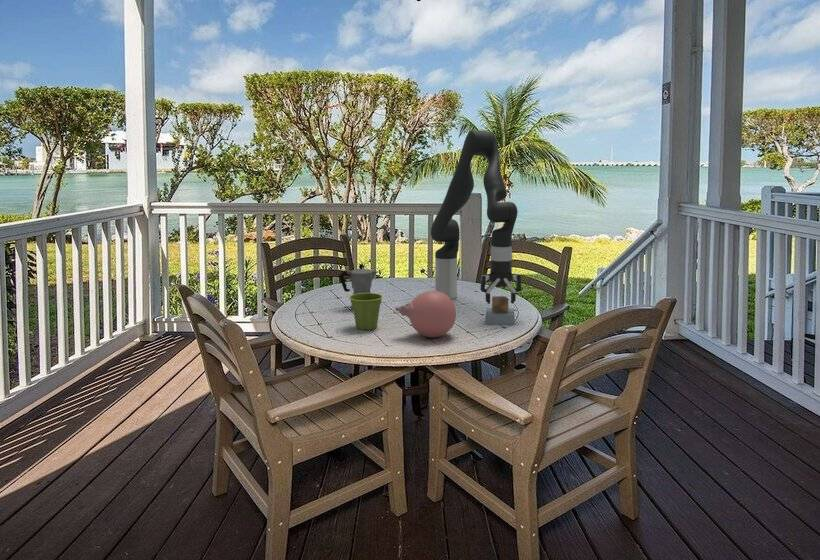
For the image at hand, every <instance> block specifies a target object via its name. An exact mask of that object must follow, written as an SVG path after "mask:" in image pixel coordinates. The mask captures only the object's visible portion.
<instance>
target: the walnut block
mask: <svg viewBox="0 0 820 560" xmlns="http://www.w3.org/2000/svg"><path fill="white" fill-rule="evenodd" d="M491 297H492V298H491V299H492V300H491V308H492V310H493V312H494V313H508V308H509V298H508V296H506V295H504V296H503V295H502V296H501V295H500V296H499V295H497V296H496V295H495V296H491Z"/></svg>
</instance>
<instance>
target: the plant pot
mask: <svg viewBox="0 0 820 560" xmlns="http://www.w3.org/2000/svg"><path fill="white" fill-rule="evenodd" d="M348 298H349V300H350V304H352V307H353V310H352V311H353V312H352V313H353V316H354V322H355V327H356V329H358V330H360V331H364V330H368V331H371V330H375V329H377V327H378V320H379V314H380V308H381V305H382V304H381V303H382V299H383V298H384V295H383V294H381V293H376V292H371V293H358V294H353V293H352V294H350V295H349V296H348Z"/></svg>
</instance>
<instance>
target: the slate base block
mask: <svg viewBox="0 0 820 560" xmlns="http://www.w3.org/2000/svg"><path fill="white" fill-rule="evenodd" d="M485 308H486V310H485V325H495V324H497V325H499V326H501V325H502V326H503V325H504V326H515V308H514V307H513V308H511V307H510V308H509V307H508V313H494V312H493V310H492V307H485ZM497 325H496V326H497Z"/></svg>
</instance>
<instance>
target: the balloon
mask: <svg viewBox="0 0 820 560" xmlns="http://www.w3.org/2000/svg"><path fill="white" fill-rule="evenodd" d="M394 309H395V311H396V312H399V313H398V314H400V315H401V316H406V317H407V318H408V319H409V320H410V324H411V326H412V327H413V329H414V330H415V331H416V332H417V333H418V334H420V335H421V336H423V337H426V338H440V337H442V336H445V335H446V334H447V333H448V332H449V331H450V330H451V329H452V328H453V326H454V325H455V322H456V320H457V310H456V306H455V304H454V302H453V299H450V298H449V297H448V296H447V295H446V294H444V293H442V292H439V291H435V290H428V291H423V292H421V293H420V294H418V295H417V296H416V297H414V299H412V300H411V301H410V302H407V303H405V304H404V305H401V306H398V307H395V308H394Z"/></svg>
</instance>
